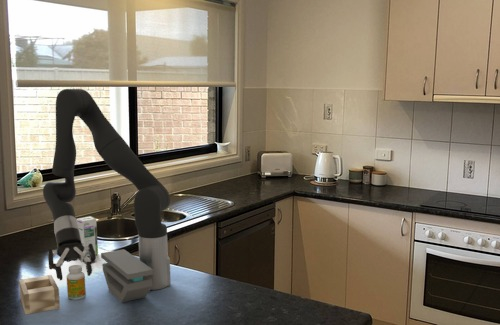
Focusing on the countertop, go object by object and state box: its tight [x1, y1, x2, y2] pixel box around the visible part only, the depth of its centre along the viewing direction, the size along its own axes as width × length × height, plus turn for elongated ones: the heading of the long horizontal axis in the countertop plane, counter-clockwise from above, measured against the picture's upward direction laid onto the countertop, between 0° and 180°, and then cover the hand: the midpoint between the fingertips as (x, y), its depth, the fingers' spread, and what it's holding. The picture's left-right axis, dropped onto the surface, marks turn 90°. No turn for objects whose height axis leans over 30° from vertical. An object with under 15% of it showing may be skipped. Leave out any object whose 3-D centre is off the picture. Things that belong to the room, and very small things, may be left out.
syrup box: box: [76, 215, 99, 257], centre depth 216 cm, size 6×6×14 cm
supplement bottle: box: [66, 264, 87, 300], centre depth 173 cm, size 5×5×10 cm
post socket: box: [18, 274, 61, 315], centre depth 168 cm, size 10×14×6 cm
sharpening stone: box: [100, 248, 153, 303], centre depth 175 cm, size 25×8×11 cm, turn 33°
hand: (75, 276), depth 173 cm, fingers open, 8 cm apart
